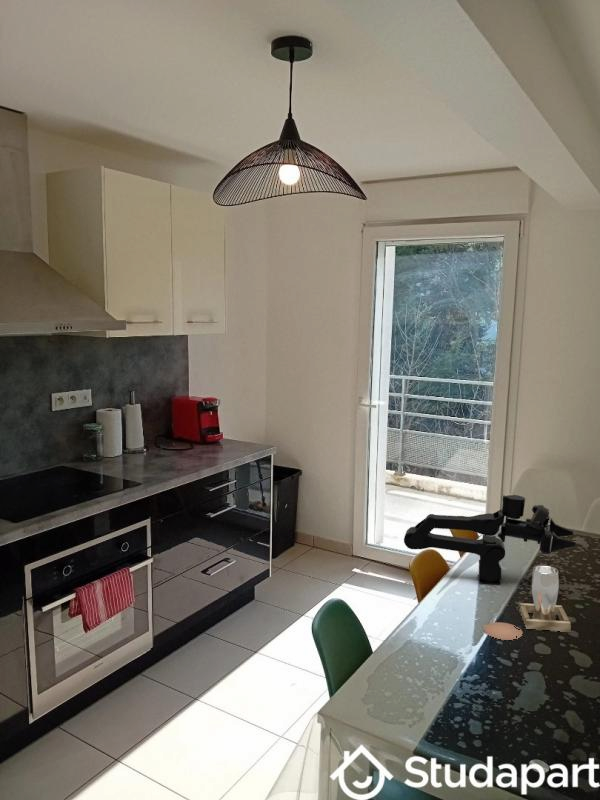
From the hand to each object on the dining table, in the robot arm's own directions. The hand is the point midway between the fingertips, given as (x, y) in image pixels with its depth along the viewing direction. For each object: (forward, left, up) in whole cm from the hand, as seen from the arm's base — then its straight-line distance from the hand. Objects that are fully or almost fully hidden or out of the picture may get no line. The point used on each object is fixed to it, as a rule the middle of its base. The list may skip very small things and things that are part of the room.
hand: (574, 538), depth 197 cm
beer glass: (-13, -25, -16) cm, 33 cm away
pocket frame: (-13, -25, -16) cm, 32 cm away
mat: (-25, -33, -16) cm, 44 cm away
